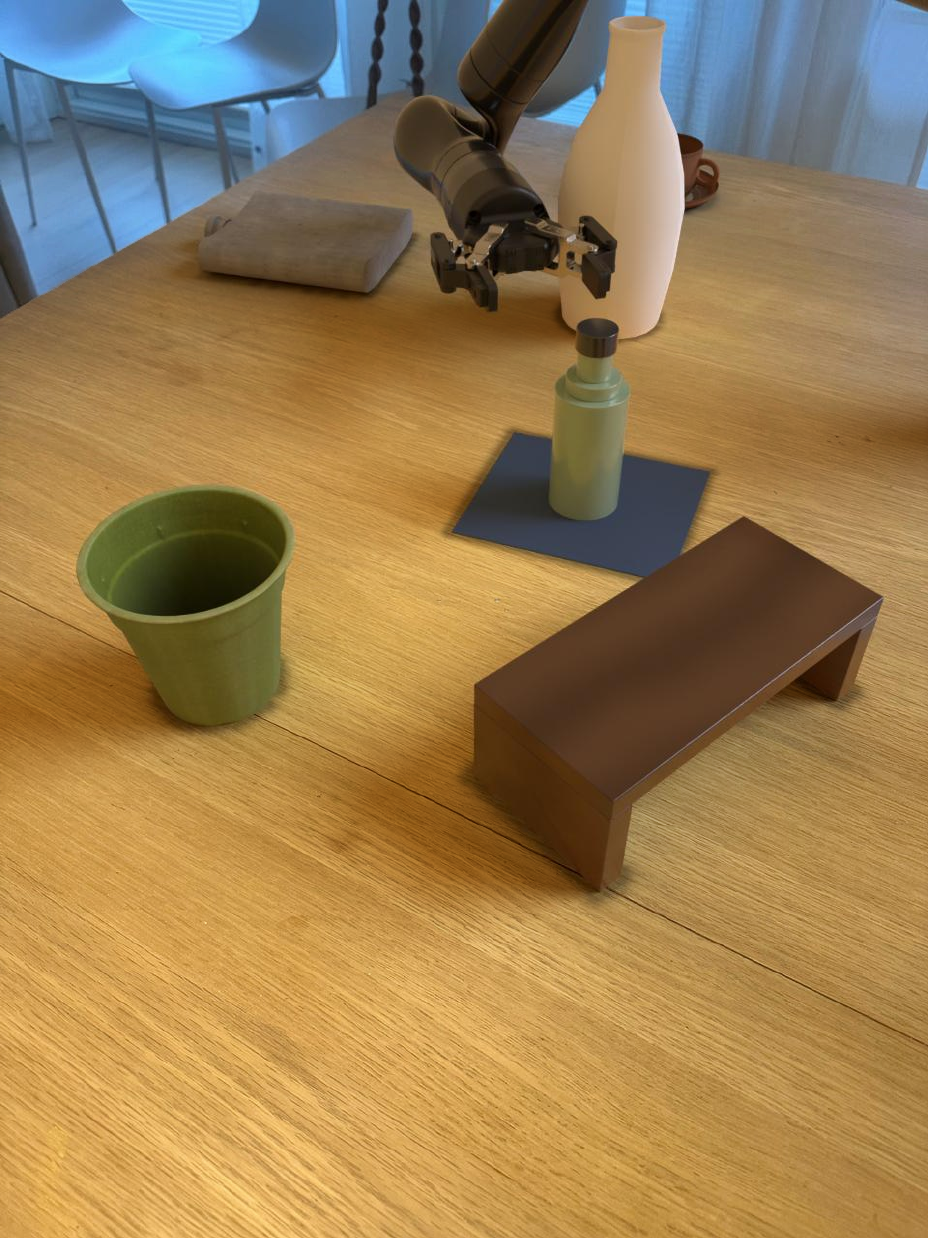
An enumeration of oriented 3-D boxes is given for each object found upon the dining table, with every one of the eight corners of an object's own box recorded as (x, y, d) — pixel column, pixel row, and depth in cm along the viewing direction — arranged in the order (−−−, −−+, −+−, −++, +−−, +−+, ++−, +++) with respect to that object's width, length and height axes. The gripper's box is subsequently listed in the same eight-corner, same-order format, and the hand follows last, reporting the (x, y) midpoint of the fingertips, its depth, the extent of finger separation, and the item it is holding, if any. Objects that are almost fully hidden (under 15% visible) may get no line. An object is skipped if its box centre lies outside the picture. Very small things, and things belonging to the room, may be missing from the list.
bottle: (586, 359, 95) (611, 49, 78) (531, 307, 102) (542, 13, 85) (691, 334, 98) (737, 31, 81) (630, 285, 106) (660, -2, 88)
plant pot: (157, 617, 70) (118, 478, 63) (332, 628, 69) (314, 489, 62) (94, 753, 62) (39, 612, 54) (292, 769, 61) (266, 627, 53)
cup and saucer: (718, 183, 125) (727, 129, 121) (713, 223, 117) (722, 166, 112) (618, 175, 127) (623, 121, 123) (605, 214, 119) (609, 158, 114)
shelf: (473, 780, 60) (473, 684, 55) (723, 610, 70) (743, 515, 65) (599, 897, 54) (613, 802, 49) (850, 693, 65) (885, 596, 59)
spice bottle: (632, 500, 79) (654, 328, 69) (584, 530, 76) (600, 355, 66) (581, 471, 81) (595, 301, 72) (533, 498, 79) (541, 326, 69)
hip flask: (362, 266, 100) (171, 242, 104) (364, 306, 103) (179, 281, 107) (413, 204, 112) (239, 183, 116) (414, 241, 114) (244, 220, 118)
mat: (709, 476, 82) (710, 471, 81) (668, 588, 72) (669, 582, 72) (514, 436, 86) (514, 431, 86) (451, 537, 76) (451, 531, 76)
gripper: (408, 174, 86) (455, 256, 75) (573, 157, 89) (643, 234, 77) (412, 262, 91) (457, 351, 80) (568, 244, 94) (633, 328, 82)
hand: (548, 293), depth 79 cm, fingers open, 8 cm apart
